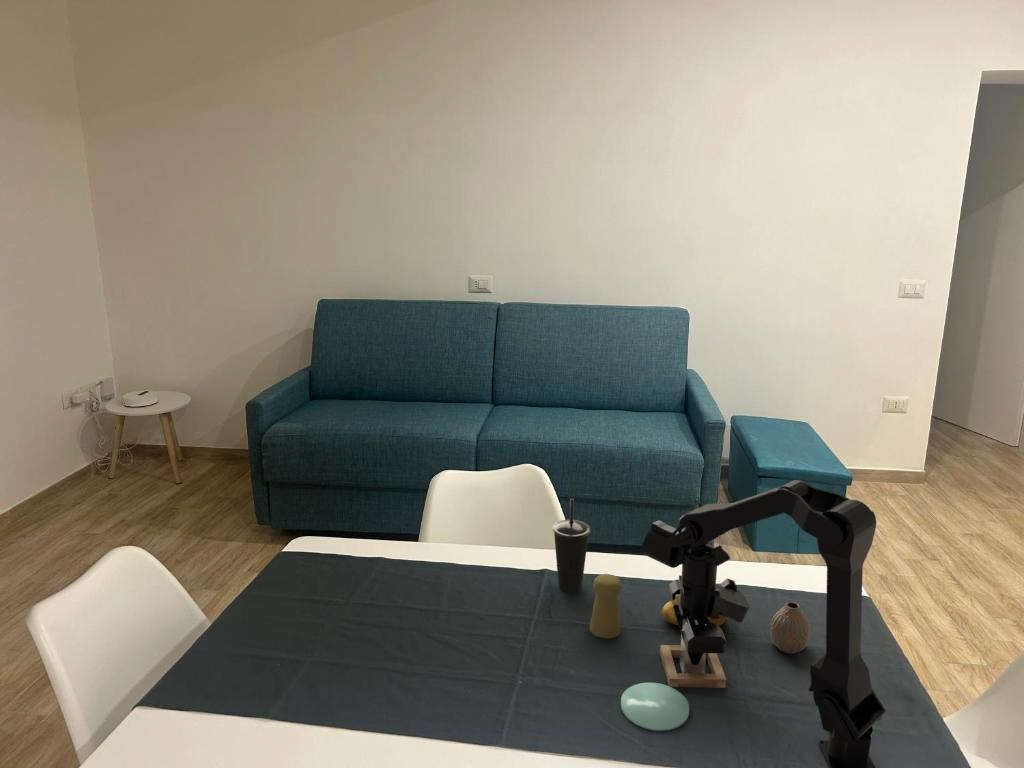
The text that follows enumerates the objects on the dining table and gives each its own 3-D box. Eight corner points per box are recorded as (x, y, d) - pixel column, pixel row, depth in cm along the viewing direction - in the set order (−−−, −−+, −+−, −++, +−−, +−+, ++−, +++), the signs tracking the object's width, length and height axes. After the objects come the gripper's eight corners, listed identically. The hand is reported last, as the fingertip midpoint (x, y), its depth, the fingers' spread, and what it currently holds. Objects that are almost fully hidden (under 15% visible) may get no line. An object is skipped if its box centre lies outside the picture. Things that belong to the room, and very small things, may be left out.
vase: (810, 660, 142) (816, 617, 140) (770, 656, 143) (775, 613, 141) (805, 638, 149) (810, 597, 146) (766, 634, 150) (770, 593, 147)
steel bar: (704, 676, 138) (707, 631, 135) (683, 676, 138) (686, 630, 135) (699, 663, 141) (703, 619, 139) (679, 663, 141) (682, 618, 139)
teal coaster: (695, 731, 125) (695, 728, 125) (624, 730, 125) (625, 727, 125) (682, 685, 135) (682, 682, 135) (617, 685, 136) (617, 682, 135)
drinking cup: (545, 582, 168) (546, 495, 162) (577, 574, 171) (579, 488, 165) (562, 600, 161) (564, 510, 155) (595, 592, 164) (598, 503, 158)
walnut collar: (725, 687, 135) (726, 679, 134) (668, 686, 135) (669, 678, 135) (713, 653, 144) (713, 645, 144) (659, 652, 144) (660, 645, 144)
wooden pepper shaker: (584, 633, 150) (586, 581, 147) (596, 617, 155) (598, 566, 152) (614, 641, 147) (617, 589, 144) (626, 625, 153) (628, 574, 150)
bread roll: (664, 633, 150) (666, 595, 148) (657, 604, 160) (660, 569, 157) (733, 635, 150) (736, 597, 147) (722, 606, 159) (725, 571, 157)
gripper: (762, 608, 125) (753, 692, 130) (732, 551, 143) (726, 627, 148) (691, 607, 126) (685, 691, 130) (670, 550, 144) (666, 626, 148)
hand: (692, 657), depth 139 cm, fingers closed on steel bar, 4 cm apart
